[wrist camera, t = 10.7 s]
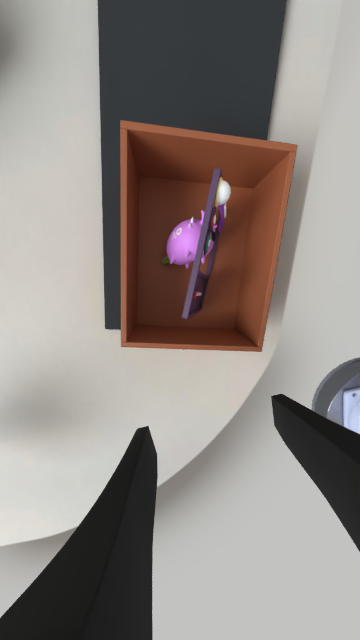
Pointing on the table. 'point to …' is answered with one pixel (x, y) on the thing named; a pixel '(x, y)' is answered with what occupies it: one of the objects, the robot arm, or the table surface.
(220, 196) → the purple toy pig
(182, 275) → the bin
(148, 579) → the robot arm
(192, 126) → the mat
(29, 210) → the table surface
